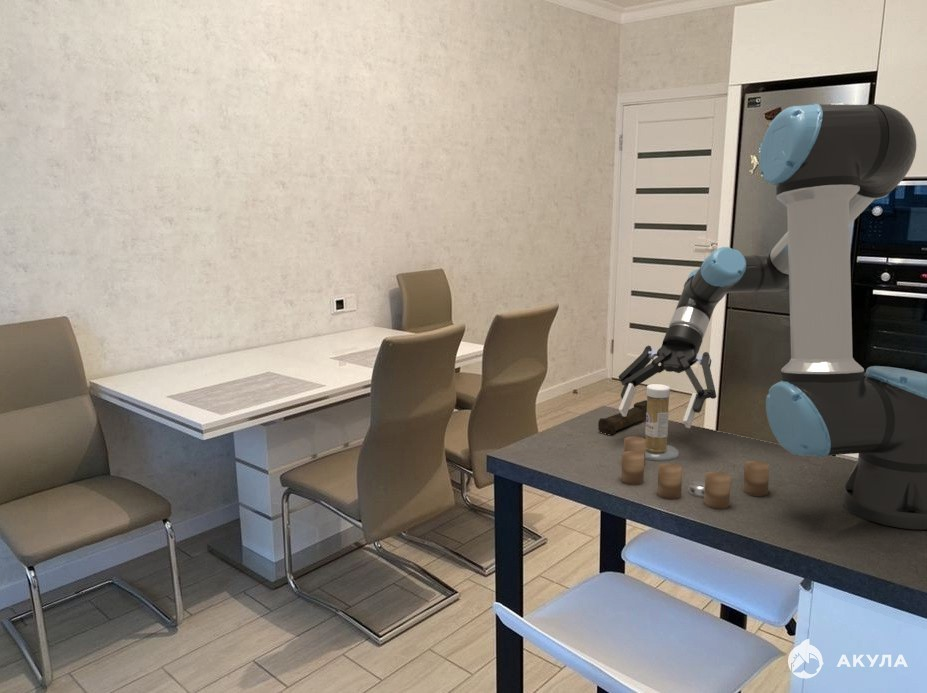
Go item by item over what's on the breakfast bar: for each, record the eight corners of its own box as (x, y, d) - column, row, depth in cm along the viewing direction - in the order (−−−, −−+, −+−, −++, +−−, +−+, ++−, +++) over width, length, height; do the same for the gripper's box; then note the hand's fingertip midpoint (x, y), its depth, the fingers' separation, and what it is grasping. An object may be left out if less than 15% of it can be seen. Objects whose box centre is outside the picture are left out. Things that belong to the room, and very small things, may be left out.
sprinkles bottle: (639, 448, 145) (642, 384, 143) (658, 445, 147) (661, 382, 144) (652, 455, 141) (655, 389, 139) (672, 452, 143) (675, 387, 140)
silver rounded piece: (715, 492, 124) (716, 484, 124) (707, 500, 121) (707, 491, 121) (693, 487, 127) (693, 479, 127) (684, 494, 124) (685, 486, 123)
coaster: (688, 455, 142) (688, 452, 142) (655, 464, 138) (655, 461, 138) (655, 443, 150) (655, 440, 150) (623, 451, 146) (623, 448, 146)
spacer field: (772, 492, 123) (774, 465, 122) (700, 517, 114) (702, 488, 113) (662, 451, 145) (663, 428, 144) (594, 469, 136) (595, 444, 135)
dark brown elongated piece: (611, 437, 155) (612, 417, 154) (597, 433, 158) (597, 413, 157) (661, 420, 167) (661, 401, 166) (646, 416, 170) (647, 397, 169)
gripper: (749, 350, 145) (719, 439, 136) (636, 338, 160) (603, 417, 152) (742, 328, 140) (711, 419, 131) (626, 318, 155) (591, 399, 147)
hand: (653, 418), depth 142 cm, fingers open, 13 cm apart
